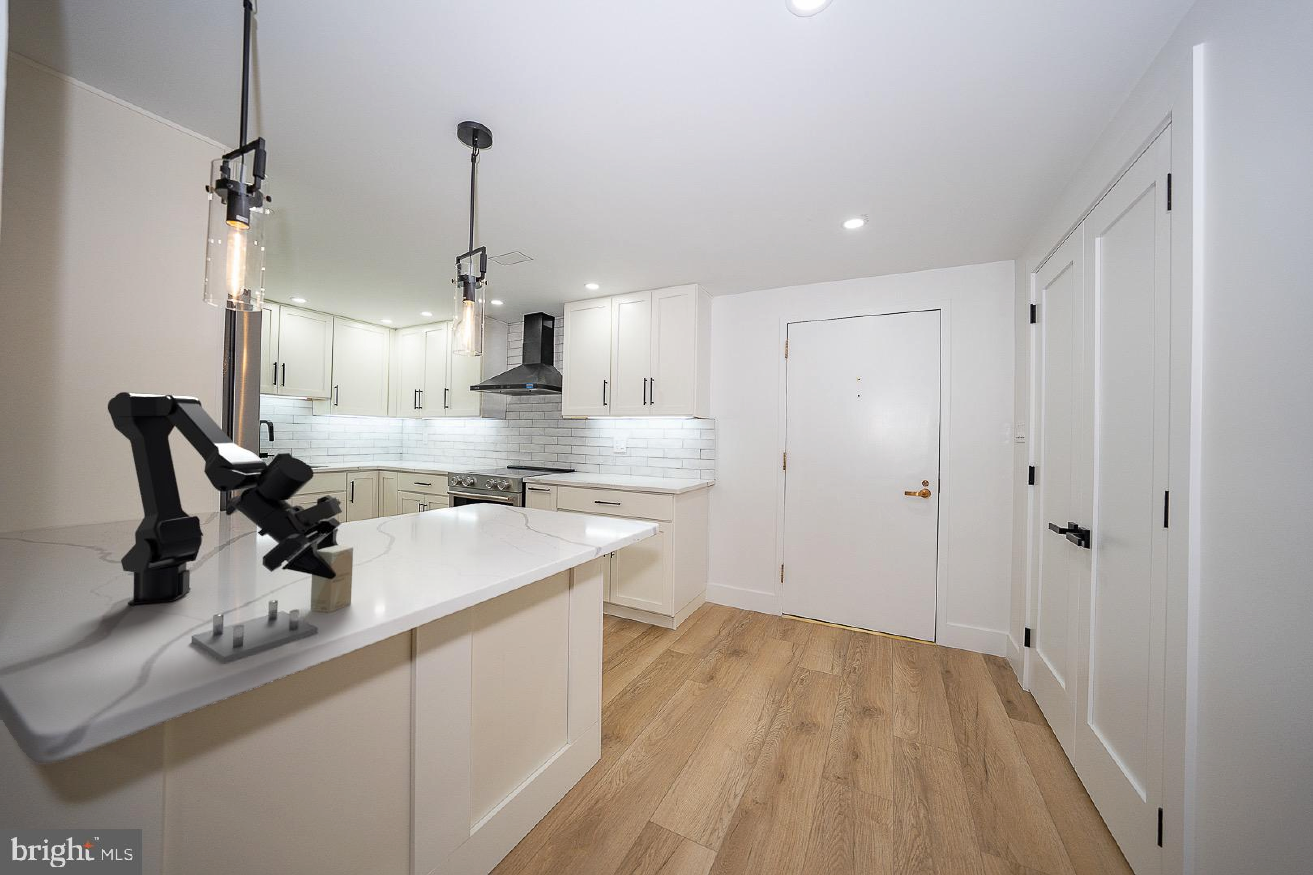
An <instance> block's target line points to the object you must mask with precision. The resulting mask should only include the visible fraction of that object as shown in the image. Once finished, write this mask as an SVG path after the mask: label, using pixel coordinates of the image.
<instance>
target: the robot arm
mask: <svg viewBox="0 0 1313 875" xmlns="http://www.w3.org/2000/svg"><path fill="white" fill-rule="evenodd" d="M107 412H108V413H109V415H110V417H111V421H112V423H113V426H114V429H116V430H117V431H119V432H120V433H121V434H122V435H123V436H124V437H125V439H127V440H129V442H130V447H131V452H132V457H133V462H134V463H133V464H134V467H135V472H136V473H135V474H136V478H137V483H138V488H139V493H140V498H141V503H142V509H143V516H144V517H143V518H142V520H141V522H140V524H138V527H137V529H136V530H135V532H134V537H135V538H134V539H135V544H134V545H133V546H132V547H131V548H130V549H129V550H128V552H127V553H125V555H124V556H123V557H122V558H121V559H120V563H121V567H122V570H123V572H128V573H129V572H130V573H133V597H132V599H130V600H129V601H127V605H128V606H131V605H132V606H133V605H144V604H155V603H156V604H157V603H166V602H170V603H171V602H174V601H176V600H178V599H179V598H181V597H182V596H184V595H186V594H187V593H188V592H189V591H191V587H190V580H191V579H190V578H191V577H190V576H191V571H190V569H187V563H189V562H195V561H196V560H197V557H198V554H199V551H200V548H201V546H202V542H203V536H204V534H203V533H204V532H202V529H201V520H200V518H199V517H198V516H197V515H193V516H191V515H189V514H188V513H187V512H186V511H185V510H183V507H182V503H181V502H182V501H181V497H180V493H179V492H180V491H179V487H178V482H177V476H176V471H175V467H174V466H175V465H174V460H173V456H172V451H171V450H172V449H171V445H170V440H169V437H170V435H171V433H172V431H173V430H174V429H175V428H176V429H177V430H178V431H179V432H180V433H181V435H182V436H183V437H184V438H185V439H186V440H187V441H188V443H189V444H190V445H191V446H192V447H193V449H195V450H196V451H197V453H198V454H199V455H200V456H201V457H202V459H203V461H205V464H204V470H203V472H204V475H206V477H207V479H208V480H209V481H210V483H211V485H212V486H213V487H214V489H216V490H217V491H219V492H225V493H226V492H228V493H229V492H237V491H242V492H241V493H240V494H239V495H236V496H233V497H231V498H228V499H226V509H225V515H226V516H232V515H234V514H235V513H238V512H240V513H241V514H243V516H245V517H246V518H248V520H250V521H251V522H252V523H253V524H254V525H256V527H258V528H259V529H260V530H259V531H258V532H257V534H258V535H260V536H261V537H264V536H266V535H267V536H269V537H270V538H271V539H272V540H274V541H275V542H276V543H277V545H275V546H274V547H273V548H272V549H271V550H270V551H268V552H267V553H266V554H264V555H263V556H262V566H264V567H265V569H267V570H269V572H271V573H272V572H274V571H276V570H277V569H279V568H281V567H282V568H281V569H282V570H283V571H286V570H289V571H294V572H299V573H304V574H308V575H311V576H312V575H316V576H320V577H324V578H328V579H333V578H334V577H335V576H336V575H337V574H336V573H335V572H334V570H333V569H332V568H331V567H330V566H329V565H328V563H327V562H326V561H325V560H324V559H323V558H322V557H321V556H320V555H319V554H318V552H317V550H320V549H323V548H327V547H331V546H335V545H338V546H339V543H338V541H337V534H338V531H339V529H338V527H339V526H341V525H342V523H341V522H340V521H338V519H336V518H335V517H336V516H337V515H338V514H341V513H343V510H342V509H341V507H340V505H341V500H338V499H337V497H336V496H335V497H332V496H331V495H329V494H327V495H324V496H321V497H319V498H317V500H316V501H317V502H316V504H315V505H312V506H310V507H308V508H304V507H302V506H301V505H294V506H292V505H291V504H290V503H289V502H287V501H288V500H291V499H292V498H293V497H294V496H295V495H296V494H297V493H298V492H299V491H300V490H301V489H302V488H303V487H305V486H306V485H307V483H309V482H310V481H311V480H312V479H313V478H314V470H313V469H312V467H311V465H309V464H308V463H306V462H304V461H303V460H301V459H299V458H297V457H293V456H292V454H290V452H280V453H277V454H276V455H275V456H274V458H273V459H272V461H271V462H269V464H267V463H266V462H265V461H264V460H263V459H261V458H260V457H259V456H258V455H256V453H254V452H252V451H250V450H248V449H245V448H243V447H240V446H239V445H238V444H236V443H235V442H233V440H232V439H231V438H230V437H229V436H228V435H227V433H226V432H225V431H223V429H222V428H221V427H220V426H219V424H217V423H216V421H215V420H214V419H213V418H212V417H211V416H210V415H209V414H208V413H207V411H206V410H205V409H204V408H203V407H202V402H201V401H200V399H198V398H197V397H194V396H192V395H174V394H163V393H162V394H159V393H145V392H144V393H143V392H131V391H130V392H129V391H127V392H126V391H121V392H119V393H117V394H116V395H114V397H112V398H111V399H109V401H108V404H107ZM243 490H244V491H243ZM334 516H335V517H334ZM284 562H287V563H286V564H285V565H284V566H282V565H283V563H284Z"/></svg>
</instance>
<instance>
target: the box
mask: <svg viewBox="0 0 1313 875" xmlns="http://www.w3.org/2000/svg"><path fill="white" fill-rule="evenodd" d="M317 552H318V554H319V555H320V556H321V557H322V558H323V559H324V560H325V561H326V562H327V563H328V565H329V566H330V567H331V568H332V569H333V570H334V572H335V573H336V574H337V575H336V576H335V577H334V578H333V579H328V578H324V577H320V576H316V575H312V574H311V585H310V586H311V588H310V589H311V590H310V610H311V611H315V612H325V613H331V612H333V611H336V610H338V609H341V608H343V607H346V606H349V605H351V603H352V589H353V588H352V587H353V586H352V585H353V567H354V566H353V563H354V562H353V561H354V547H352V546H345V545H339V544H338V545H335V546H331V547H327V548H323V549H320V550H317Z"/></svg>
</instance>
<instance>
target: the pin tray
mask: <svg viewBox="0 0 1313 875" xmlns="http://www.w3.org/2000/svg"><path fill="white" fill-rule="evenodd" d="M278 603H279V601H278V600H277V599H273V600H269V601H268V613H267V614H266V615H263V616H259V617H256V618H251V619H248V620H245V621H241V622H238V623H233V624H229V625H226V626H224V617H225V616H224V613H218V614H214V615H212V620H213V621H212V629H211V630H207V631H204V632H200V633H197V634H193V635H191V643H192V644H193V645H195V646H197V647H198V648H200V649H201V650H203V651H204V652H205V653H207V654H208V655H210V656H212V657H213V658H215V659H216V660H217V661H219V662H221V663H222V664H224V665H225V664H228V663H231V662H234V661H237V660H240V659H243V658H247V657H249V656H253V655H255V654H258V653H263V652H265V651H267V650H270V649H271V650H272V649H275V648H277V647H280V646H283V645H286V644H289V643H292V642H295V641H298V640H301V639H305V638H307V637H310V636H314V635H317V634H318V633H319V632H318V631H319V630H318V629H319V628H318V626H316V625H313V624H311V623H309V622H307V621H305V620H303V619H301V618H299V617H300V616H299V615H300V611H299V609H292V610H289V613H287V612H286V611H284V610H281V611H278V610H279V609H278V608H279V604H278Z"/></svg>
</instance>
